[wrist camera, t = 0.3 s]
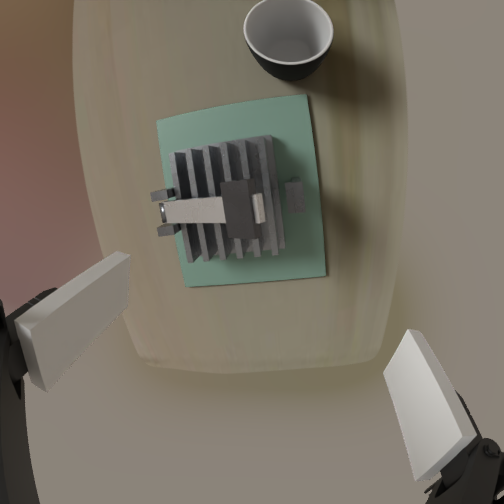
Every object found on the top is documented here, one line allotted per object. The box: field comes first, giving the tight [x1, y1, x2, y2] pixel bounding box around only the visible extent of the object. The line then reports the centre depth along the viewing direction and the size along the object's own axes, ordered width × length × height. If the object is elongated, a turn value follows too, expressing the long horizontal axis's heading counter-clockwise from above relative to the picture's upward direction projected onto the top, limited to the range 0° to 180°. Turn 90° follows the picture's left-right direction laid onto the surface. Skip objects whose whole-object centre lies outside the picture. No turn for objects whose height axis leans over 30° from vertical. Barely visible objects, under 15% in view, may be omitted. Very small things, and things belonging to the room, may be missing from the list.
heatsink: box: [150, 135, 306, 263], centre depth 33 cm, size 14×16×9 cm
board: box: [156, 94, 326, 287], centre depth 38 cm, size 24×20×1 cm
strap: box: [159, 178, 265, 239], centre depth 28 cm, size 5×14×1 cm, turn 98°
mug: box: [244, 0, 334, 81], centre depth 27 cm, size 12×9×10 cm
